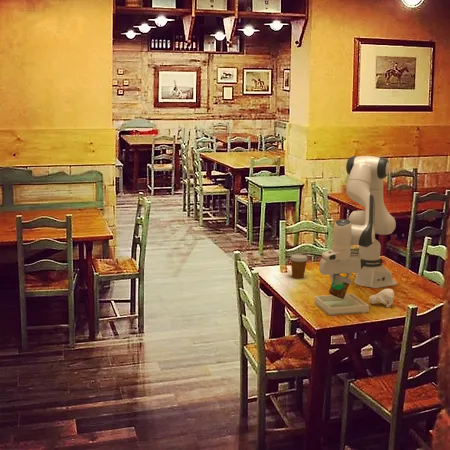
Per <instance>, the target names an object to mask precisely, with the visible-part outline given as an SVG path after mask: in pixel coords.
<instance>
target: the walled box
mask: <svg viewBox="0 0 450 450" xmlns="http://www.w3.org/2000/svg"><path fill="white" fill-rule="evenodd" d="M314 304H315V305H316V306H317V305H318V306H317V307H319V308H320V309H321V310H322V311H323V312H324V313H326V314H327V315H329V316H340V315H351V314H353V315H354V314H355V315H356V314H364V313H367V312H368V313H369V312H370V311H369V310H370V304H369V303H366V302H365V301H364V300H362V299H361V298H359V297H358V296H356V295H355V294H354V293H346V294H345V296H344V299H342V298H338V297H336V296H333V295H331V294H329V295H328V294H326V295H315V296H314Z"/></svg>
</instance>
